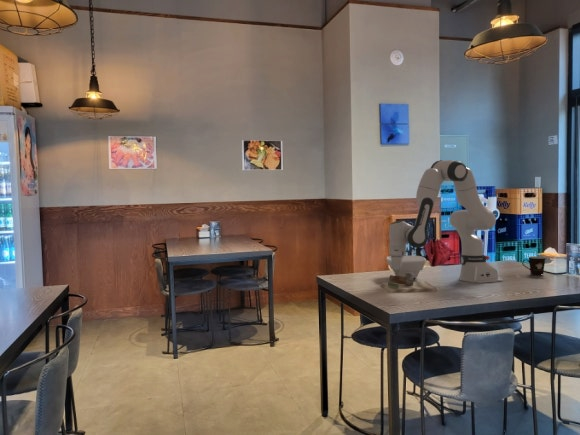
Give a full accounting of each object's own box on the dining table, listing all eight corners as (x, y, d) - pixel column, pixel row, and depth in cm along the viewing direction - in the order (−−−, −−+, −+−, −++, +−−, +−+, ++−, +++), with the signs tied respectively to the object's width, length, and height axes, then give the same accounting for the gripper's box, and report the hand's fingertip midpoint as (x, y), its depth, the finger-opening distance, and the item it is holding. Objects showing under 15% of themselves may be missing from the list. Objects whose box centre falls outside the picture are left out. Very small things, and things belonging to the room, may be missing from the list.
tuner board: (425, 284, 252) (425, 276, 252) (436, 291, 234) (436, 283, 234) (381, 285, 251) (381, 278, 251) (389, 292, 233) (389, 284, 233)
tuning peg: (413, 283, 245) (413, 272, 245) (413, 285, 241) (413, 273, 241) (390, 283, 249) (390, 271, 248) (389, 284, 245) (389, 273, 245)
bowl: (429, 281, 260) (429, 260, 259) (389, 281, 262) (389, 261, 261) (421, 274, 282) (421, 255, 282) (384, 274, 284) (384, 255, 283)
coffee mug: (545, 273, 273) (545, 256, 273) (544, 276, 266) (544, 258, 266) (523, 272, 280) (523, 255, 279) (522, 274, 272) (522, 257, 272)
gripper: (393, 248, 261) (393, 273, 262) (389, 253, 242) (389, 279, 242) (404, 248, 259) (405, 273, 260) (401, 253, 240) (402, 280, 240)
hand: (397, 276), depth 251 cm, fingers closed
